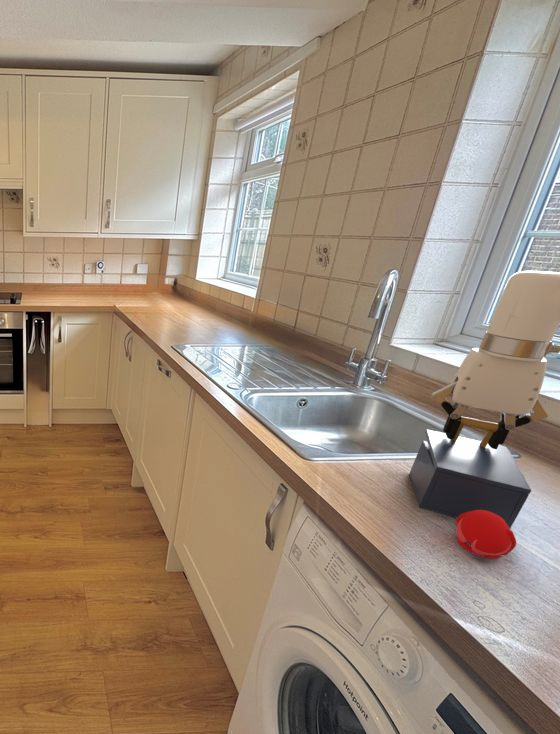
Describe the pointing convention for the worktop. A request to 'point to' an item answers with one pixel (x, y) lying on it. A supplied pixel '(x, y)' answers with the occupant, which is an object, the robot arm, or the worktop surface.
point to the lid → (476, 457)
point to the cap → (484, 534)
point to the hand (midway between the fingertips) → (470, 440)
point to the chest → (460, 491)
